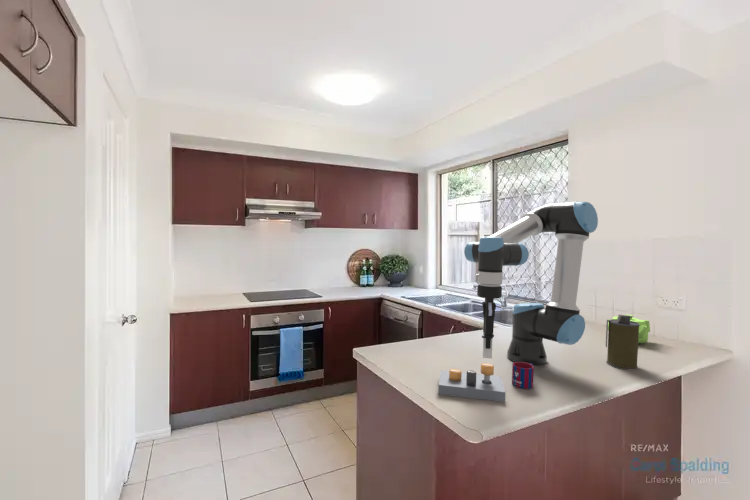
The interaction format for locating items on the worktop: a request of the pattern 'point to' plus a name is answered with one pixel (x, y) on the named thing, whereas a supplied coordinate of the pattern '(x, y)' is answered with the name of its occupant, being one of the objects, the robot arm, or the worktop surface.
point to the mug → (522, 375)
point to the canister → (622, 342)
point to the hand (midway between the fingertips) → (487, 357)
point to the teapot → (640, 329)
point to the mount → (480, 391)
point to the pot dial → (471, 378)
